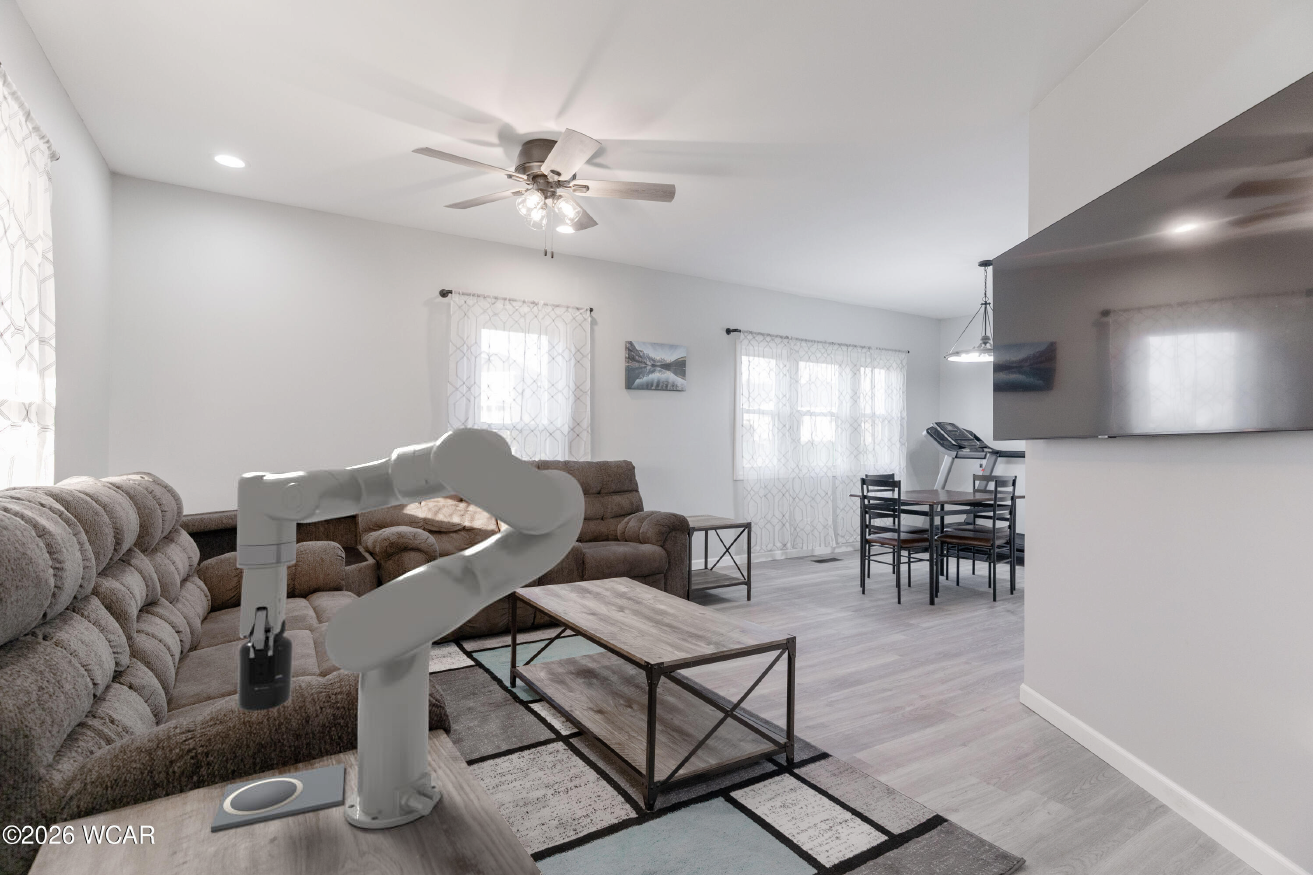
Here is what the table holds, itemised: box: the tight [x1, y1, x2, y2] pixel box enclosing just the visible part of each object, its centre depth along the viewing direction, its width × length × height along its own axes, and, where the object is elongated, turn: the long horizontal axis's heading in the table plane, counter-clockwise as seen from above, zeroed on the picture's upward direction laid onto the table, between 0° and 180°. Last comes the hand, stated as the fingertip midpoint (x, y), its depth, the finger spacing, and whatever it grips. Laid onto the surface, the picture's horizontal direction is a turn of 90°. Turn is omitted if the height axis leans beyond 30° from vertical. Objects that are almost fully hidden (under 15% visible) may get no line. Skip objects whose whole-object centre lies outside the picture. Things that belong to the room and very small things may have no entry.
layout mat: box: [210, 763, 345, 832], centre depth 95 cm, size 16×12×1 cm
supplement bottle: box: [237, 619, 293, 712], centre depth 95 cm, size 7×7×12 cm
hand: (265, 674), depth 95 cm, fingers closed on supplement bottle, 6 cm apart
